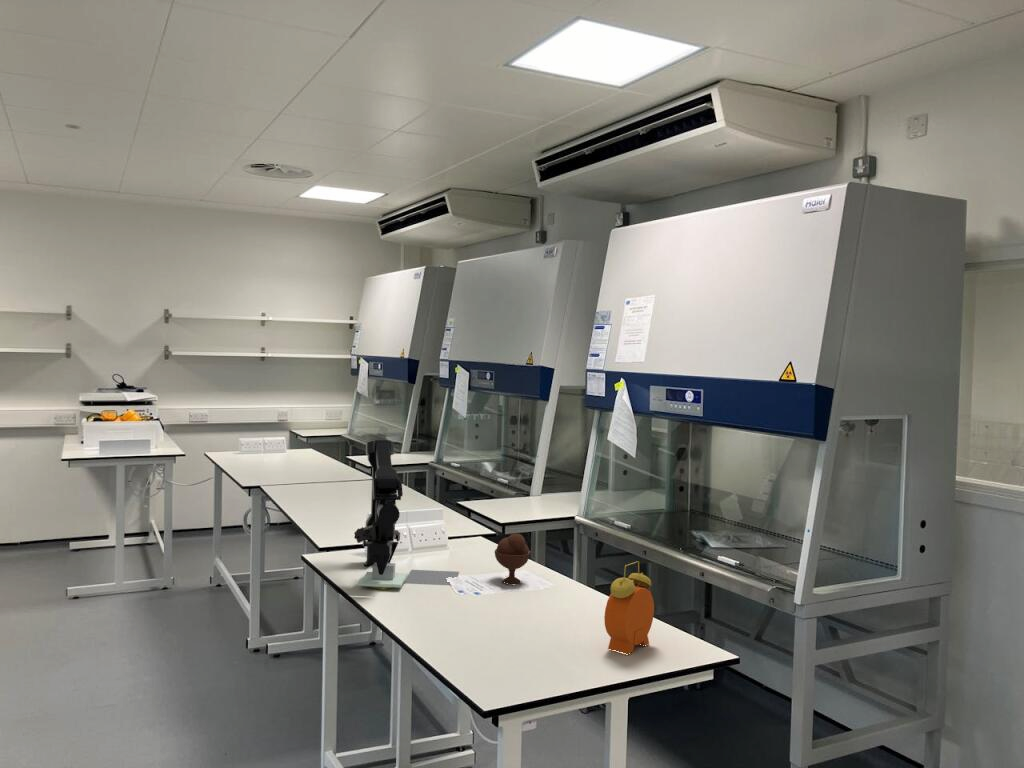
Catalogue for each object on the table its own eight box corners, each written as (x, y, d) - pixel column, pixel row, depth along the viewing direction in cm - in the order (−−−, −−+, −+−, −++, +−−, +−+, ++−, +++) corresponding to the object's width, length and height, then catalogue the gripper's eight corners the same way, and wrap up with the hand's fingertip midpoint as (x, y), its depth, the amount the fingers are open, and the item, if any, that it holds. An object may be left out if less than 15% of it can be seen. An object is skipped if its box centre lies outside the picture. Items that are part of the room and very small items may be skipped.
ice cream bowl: (530, 578, 243) (532, 530, 242) (527, 588, 232) (529, 538, 231) (496, 576, 244) (497, 528, 243) (491, 586, 233) (493, 535, 232)
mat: (411, 571, 246) (411, 569, 246) (459, 573, 246) (459, 571, 246) (403, 584, 231) (403, 583, 231) (454, 587, 231) (454, 585, 231)
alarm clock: (631, 636, 194) (634, 556, 194) (653, 643, 190) (656, 560, 190) (601, 650, 184) (605, 565, 183) (624, 657, 180) (628, 570, 179)
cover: (367, 574, 235) (367, 558, 235) (407, 576, 235) (407, 560, 235) (358, 585, 223) (358, 569, 223) (400, 587, 223) (401, 570, 223)
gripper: (364, 510, 238) (362, 561, 238) (350, 523, 219) (348, 578, 220) (401, 511, 237) (399, 563, 238) (390, 524, 219) (388, 580, 219)
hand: (383, 571), depth 229 cm, fingers open, 7 cm apart
